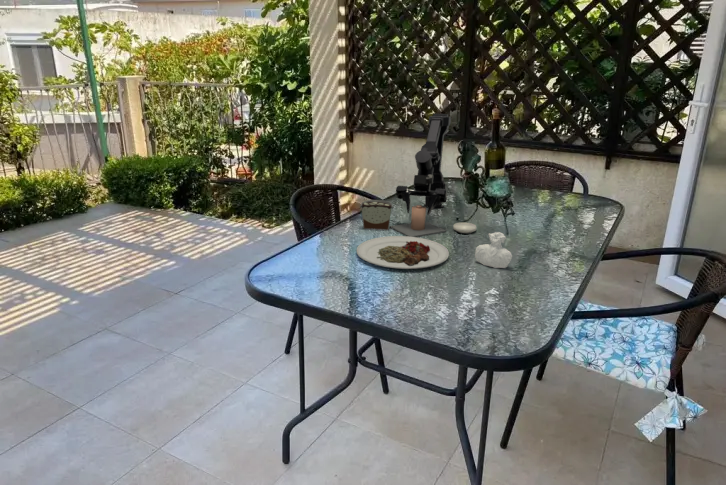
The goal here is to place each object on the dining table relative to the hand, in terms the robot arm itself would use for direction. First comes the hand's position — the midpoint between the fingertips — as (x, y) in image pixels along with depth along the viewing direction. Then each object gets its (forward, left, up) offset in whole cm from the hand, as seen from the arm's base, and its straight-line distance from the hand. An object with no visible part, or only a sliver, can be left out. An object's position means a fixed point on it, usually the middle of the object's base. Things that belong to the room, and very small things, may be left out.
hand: (417, 213), depth 196 cm
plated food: (+19, +19, -7) cm, 28 cm away
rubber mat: (-1, -1, -7) cm, 7 cm away
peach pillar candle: (-1, -1, -6) cm, 6 cm away
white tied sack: (-2, +39, -7) cm, 40 cm away
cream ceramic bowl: (-16, +8, -7) cm, 19 cm away
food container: (+11, -11, -7) cm, 17 cm away
